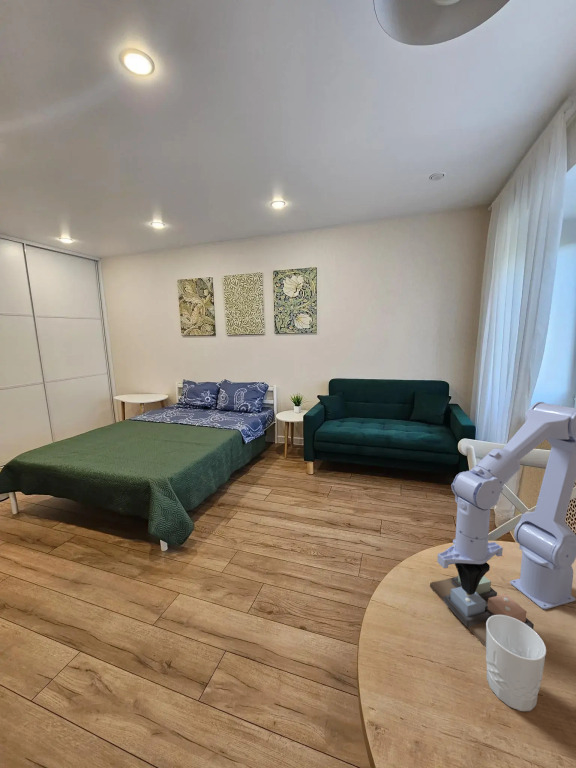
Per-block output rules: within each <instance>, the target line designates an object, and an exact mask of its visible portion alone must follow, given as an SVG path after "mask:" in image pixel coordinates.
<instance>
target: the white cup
mask: <svg viewBox="0 0 576 768" xmlns="http://www.w3.org/2000/svg"><path fill="white" fill-rule="evenodd" d="M546 656H547V647H546V644H545V643H544V640H543V639H542V637H541V636H540V635H539V634H538V633H537V632H536V631H535V630H534V628H533V629H532V628H530V627H529V626H528V625H526V624H525V623H523V622H521V621H519V620H517V619H515V618H512V617H509V616H506V615H493V616H491V617H489V618H488V620H487V622H486V647H485V661H486V662H485V663H486V680H487V683H488V685H489V689H490V690H491V691H492V693H493V694H494V695H495V696H496V697H497V698H498V700H501V702H503V703H504V704H505V705H506V706H508V707H509V708H512V709H515V710H517V711H519V712H531V711H532V710H533V709H534V708H535V707H537V702H538V694H539V692H540V689H541V683H542V678H543V672H544V668H545V660H546Z"/></svg>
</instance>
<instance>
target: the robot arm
mask: <svg viewBox="0 0 576 768" xmlns="http://www.w3.org/2000/svg"><path fill="white" fill-rule="evenodd" d="M524 415H525V416H524V423H523V425H522V426H521V427H520V428H519V429H518V430H517V431H516V433H515V434H514V435H513V436H512V437H511V438H510V439H509V441H508V442H507V443H506V444H505V445H504V446H503V448H492V450H490V451H489V452H488V453H487V454H486V455H485V456H484V457H483V458H481V460H480V461H478V462H477V464H475V465H474V466H473V467H472V468H471V469H470V470H466V471H462V472H459V473H458V474H456V476H455V478H454V479H453V482H452V483H451V485H450V486H451V491H452V493H453V494H454V498H455V499H454V502H456V504H457V510H456V526H455V538H454V539H452V545H451V546H449V547H448V548H447V549H445V550H444V551H442V552H439V553H437V561H436V562H437V563H438V564H439V566H441V567H442V568H443V569H448V568H449V565H454V566H455V568H456V570H457V575H458V574H459V577H460V581H461V586H462V589H463V590H464V591H465V592H466V593H468V594H469V595H471V594H474V593H475V591H476V589H477V587H478V584H479V582H480V580H481V579H482V577H483V576H485V575H486V574H487V573H488V572H489V571H491V570H490V567H491V566H490V564H489V563H488V562H489V560H491V559H492V558H493V557H494V556H496V557H502V556H503V550H504V549H503V548H504V547H503V546H501V545H500V544H498V543H497V542H496V541H493V542H489V533H490V532H489V531H490V517H491V509H492V508H493V507H494V506H496V505H497V503H498V502H499V499H500V495H501V493H502V492H503V490H504V488H503V486H504V485H506V484H507V483H508V482H509V480H511V478H512V477H514V476H515V475H516V474H517V472H518V471H520V469H521V463H520V461H521V459H523V458H524V457H525V456H527V455H528V454H530V452H532V451H533V450H535V448H537V447H538V446H539V445H541V444H542V443H543V442H545V441H547V442H548V444H549V445H550V447H551V448H550V451H549V455H548V460H547V463H546V467H545V470H544V474H543V478H542V482H541V485H540V488H539V489H540V490H539V494H538V497H537V501H536V505H535V509H534V511H530V512H524V513H522V514H521V517H520V519H519V521H518V523H517V524H516V526H515V527H514V530H513V537H514V540H515V541H516V542H517V544H519V547H518V548H519V550H521V551H522V552H521V561H520V563H521V564H520V573H519V574H520V576H519V578H517V579H516V578H515V579H513V580H510V581H509V583H510V585H511V586H513V587H514V588H515V589H517V590H518V591H519V592H520V593H522V594H524V595H523V596H526V597H527V598H528V599H529V600H531V601H532V602H533V603H534V604H536V605H537V606H538V607H540V609H543V610H547V609H551V608H554V607H558V606H559V607H560V606H562V605H566V604H568V603H572V602H575V601H576V597H574V596H573V595H572V592H573V591H572V589H573V581H574V569H573V566H572V565H573V564H574V562H575V561H576V533H575V532H574V531H573V530H572V528H571V527H570V526H569V525H568V524H567V523H566V516H567V512H568V509H569V506H570V501H571V498H572V494H573V490H574V487H575V483H576V407H571V406H570V407H569V406H564V405H558V404H554V403H553V404H551V403H546V402H544V401H537V402H535V403H533V404H532V405H531V406H530V407H529V408H528V410H526V411H525V414H524Z"/></svg>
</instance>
